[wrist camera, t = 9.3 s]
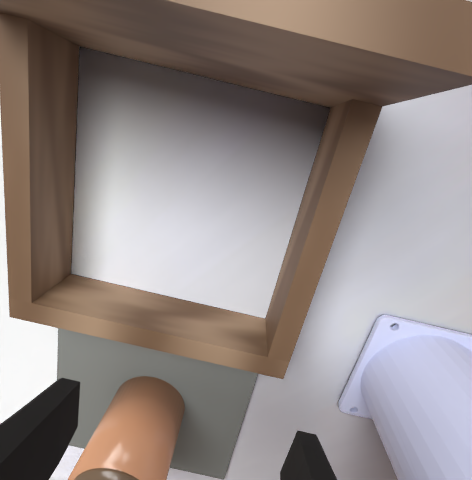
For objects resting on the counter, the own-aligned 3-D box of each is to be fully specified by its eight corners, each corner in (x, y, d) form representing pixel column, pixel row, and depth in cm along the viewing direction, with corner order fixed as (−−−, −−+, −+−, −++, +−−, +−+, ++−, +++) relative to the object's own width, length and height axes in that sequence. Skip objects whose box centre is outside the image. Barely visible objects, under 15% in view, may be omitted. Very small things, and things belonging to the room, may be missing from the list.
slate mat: (260, 364, 20) (260, 366, 20) (224, 476, 24) (223, 479, 24) (60, 318, 20) (58, 320, 20) (57, 439, 24) (55, 442, 24)
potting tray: (362, 87, 14) (519, 13, 6) (278, 338, 19) (296, 493, 11) (55, 11, 14) (-249, -181, 6) (52, 286, 19) (-110, 404, 11)
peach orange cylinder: (191, 387, 21) (165, 482, 15) (177, 437, 23) (149, 540, 17) (120, 368, 21) (67, 457, 15) (111, 420, 23) (60, 518, 17)
